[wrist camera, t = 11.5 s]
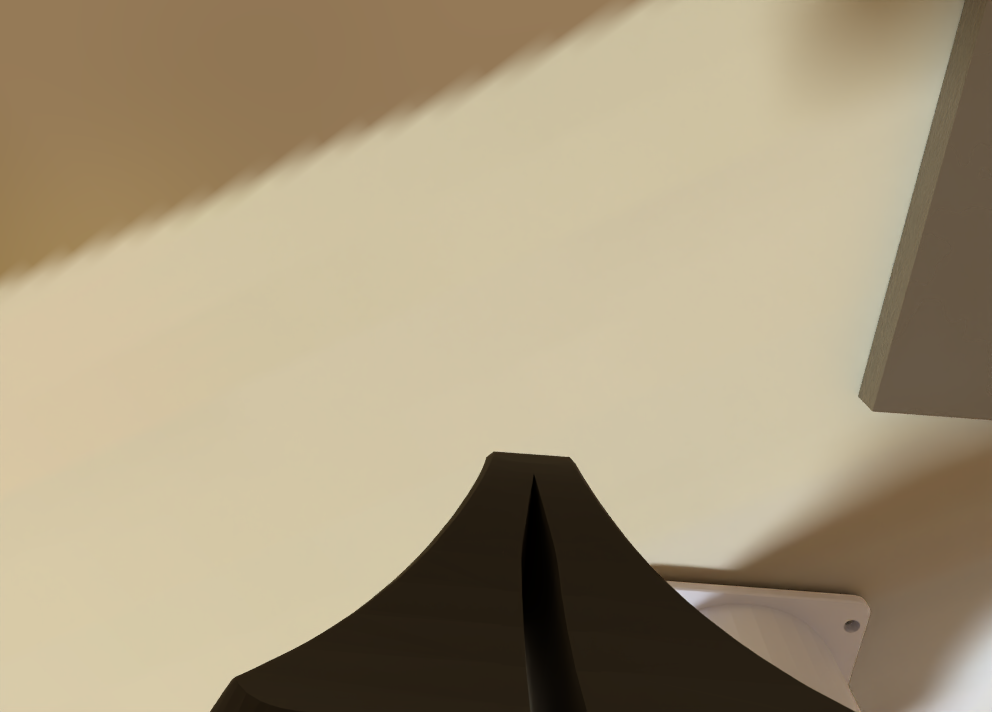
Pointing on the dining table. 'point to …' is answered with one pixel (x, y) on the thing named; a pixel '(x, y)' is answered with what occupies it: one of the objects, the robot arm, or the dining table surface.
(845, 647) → the robot arm
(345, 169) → the dining table surface
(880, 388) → the jig
